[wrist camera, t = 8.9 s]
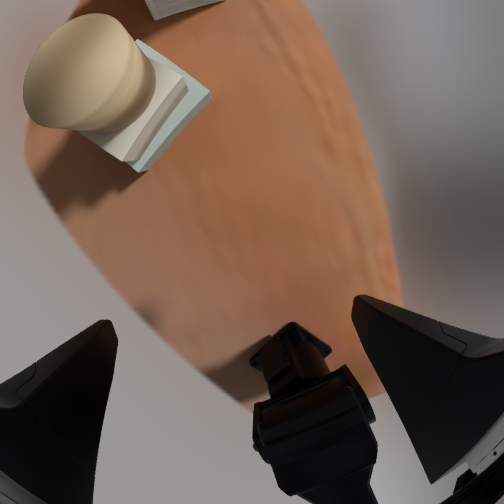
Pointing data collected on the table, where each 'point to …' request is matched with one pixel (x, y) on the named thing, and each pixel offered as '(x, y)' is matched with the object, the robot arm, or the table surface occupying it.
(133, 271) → the table surface
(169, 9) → the small box
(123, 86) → the maple cylinder
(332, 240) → the table surface
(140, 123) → the cream top block
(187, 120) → the sage base block
